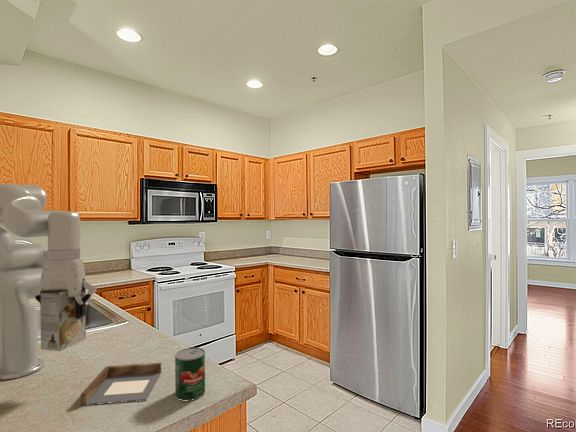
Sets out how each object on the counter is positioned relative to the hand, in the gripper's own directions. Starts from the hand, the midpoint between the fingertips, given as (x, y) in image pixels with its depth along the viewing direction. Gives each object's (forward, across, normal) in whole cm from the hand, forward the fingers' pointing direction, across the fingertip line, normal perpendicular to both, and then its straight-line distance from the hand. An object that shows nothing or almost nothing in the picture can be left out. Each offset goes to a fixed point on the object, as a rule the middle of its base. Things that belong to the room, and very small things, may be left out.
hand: (64, 317), depth 94 cm
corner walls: (+20, +17, -2) cm, 26 cm away
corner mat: (+20, +17, -2) cm, 26 cm away
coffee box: (+8, 0, 0) cm, 8 cm away
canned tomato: (+20, +36, -8) cm, 42 cm away
